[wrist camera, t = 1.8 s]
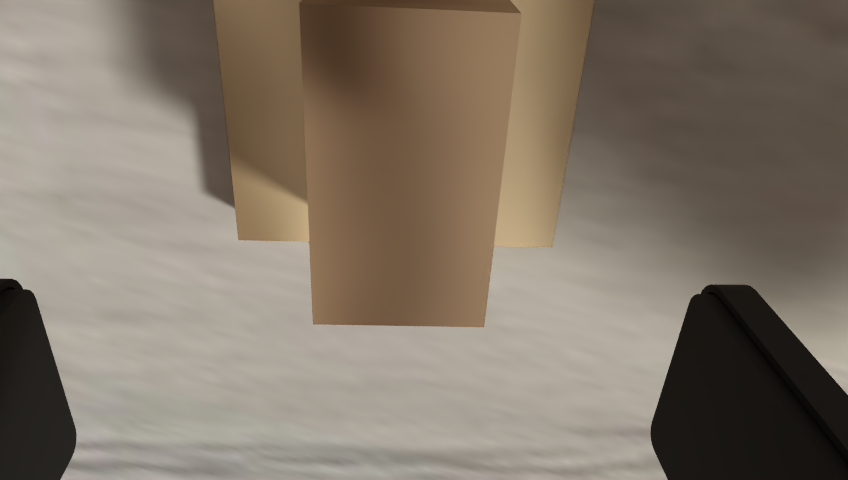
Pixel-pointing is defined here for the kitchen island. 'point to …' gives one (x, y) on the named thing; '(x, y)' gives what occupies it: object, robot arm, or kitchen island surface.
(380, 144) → the block
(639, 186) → the kitchen island surface
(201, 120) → the kitchen island surface
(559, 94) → the board
